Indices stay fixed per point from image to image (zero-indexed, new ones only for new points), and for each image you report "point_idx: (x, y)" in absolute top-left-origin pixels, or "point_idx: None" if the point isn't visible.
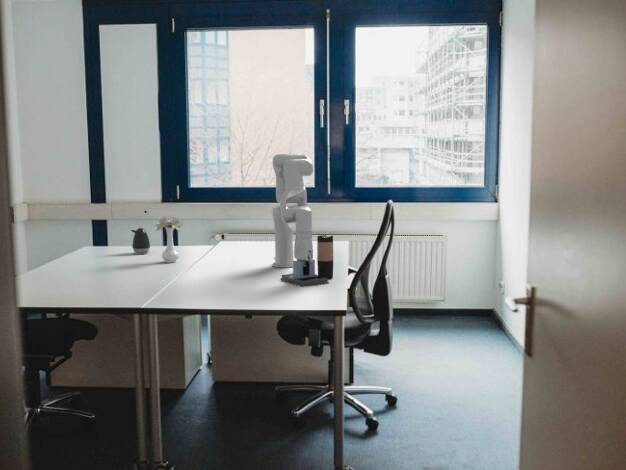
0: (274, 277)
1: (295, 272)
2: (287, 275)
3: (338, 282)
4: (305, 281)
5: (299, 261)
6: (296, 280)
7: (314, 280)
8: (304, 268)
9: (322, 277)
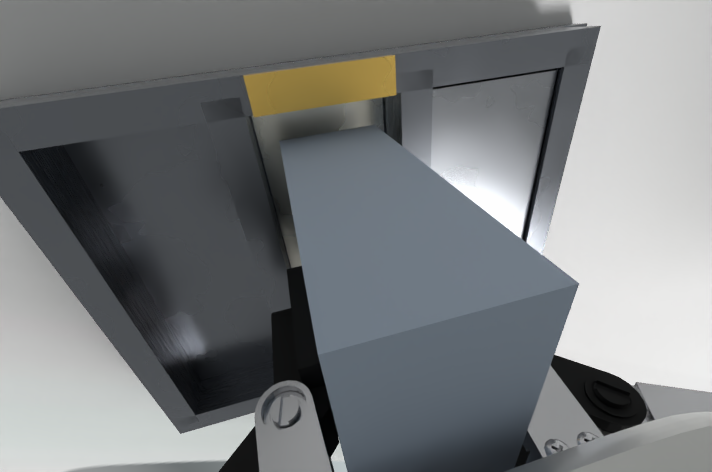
0: (708, 15)
1: (325, 168)
2: (539, 107)
3: (185, 444)
4: (15, 198)
5: (352, 439)
6: (140, 88)
7: (108, 319)
8: (297, 353)
9: (228, 402)
